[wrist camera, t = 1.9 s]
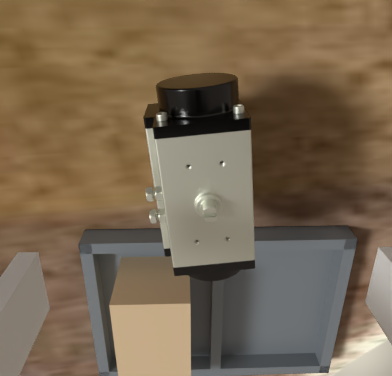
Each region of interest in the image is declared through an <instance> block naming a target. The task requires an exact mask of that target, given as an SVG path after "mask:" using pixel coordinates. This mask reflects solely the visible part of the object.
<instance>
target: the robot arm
mask: <svg viewBox="0 0 392 376" xmlns="http://www.w3.org/2000/svg"><path fill="white" fill-rule="evenodd" d="M365 303H366V305H367V306H368V308H369V309H370V311H371V312H372V314H373V316H374V317H375V319H376V320H377V322H378V324H379V325H380V327H381V328H382V330H383V332H384V333H385V335H386V336H387V338H388V340H389V341H390V343H391V344H392V247H378V251H377V256H376V260H375V264H374V268H373V272H372V276H371V280H370V285H369V289H368V293H367V297H366V301H365ZM49 309H50V307H49V302H48V297H47V293H46V288H45V283H44V278H43V273H42V269H41V264H40V259H39V254H38V252H21V253H17V254H16V256H15V257H14V259H13V260H12V261H11V263H10V264H9V266H8V267H7V269H6V270H5V271H4V273H3V274H2V276H1V277H0V376H19V374H20V372H21V370H22V368H23V366H24V363H25V361H26V359H27V357H28V355H29V353H30V350H31V348H32V346H33V344H34V342H35V339H36V337H37V335H38V333H39V331H40V329H41V326H42V324H43V322H44V320H45V318H46V316H47V313H48V311H49Z"/></svg>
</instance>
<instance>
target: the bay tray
mask: <svg viewBox="0 0 392 376" xmlns="http://www.w3.org/2000/svg"><path fill="white" fill-rule="evenodd" d="M357 240H358V239H357V238H356V236H355V235H354V234H353V232H352V231H351V230H350V229H349V227H348V226H290V227H254V241H255V269H246V270H241V271H239V272H238V273H237V274H236V275H234V276H232V277H230V278H227V279H224V280H220V281H201V280H197V279H194V278H191V277H190V276H188V275H183V276H174V271H173V264H172V257H171V256H169V257H165V253H164V246H163V240H162V233H161V229H102V230H85V231H84V233H83V235H82V238H81V240H80V242H79V249H80V256H81V262H82V268H83V275H84V281H85V287H86V294H87V300H88V307H89V313H90V319H91V326H92V332H93V338H94V345H95V351H96V357H97V364H98V370H99V376H229V375H265V374H301V373H329V368H330V363H331V359H332V354H333V350H334V345H335V341H336V336H337V332H338V327H339V322H340V318H341V313H342V309H343V304H344V300H345V295H346V290H347V286H348V281H349V277H350V272H351V268H352V263H353V258H354V254H355V249H356V245H357Z"/></svg>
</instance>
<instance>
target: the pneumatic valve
mask: <svg viewBox="0 0 392 376" xmlns="http://www.w3.org/2000/svg"><path fill="white" fill-rule="evenodd" d="M156 91H157V99H158V103H156V104H148V106H147V109H146V112H145V115H144V117H143V118H144V124H145V131H146V137H147V143H148V150H149V156H150V163H151V169H152V176H153V182H154V188H155V191H153V188H152V187H148V188H146V198H147V202H151V201H154V197H156V201H157V208H158V213H157V212H156V209H155V210H150V222H151V223H157V219H159V222H160V227H161V233H162V240H163V246H164V253H165V257H169V256H171V257H172V264H173V271H174V276H183V275H188V276H190V277H191V278H194V279H197V280H201V281H220V280H224V279H227V278H230V277H232V276H234V275H236V274H237V273H238V272H239V271H241V270H246V269H255V241H254V209H253V176H252V143H251V117H250V115H249V114H248V112H247V111H246V109H245V107H244V105H243V104H242V103H241V101H240V100H239V93H238V78H237V76H235V75H232V74H226V73H202V74H192V75H184V76H178V77H173V78H169V79H166V80H163V81H161V82H159V83H157V85H156Z"/></svg>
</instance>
